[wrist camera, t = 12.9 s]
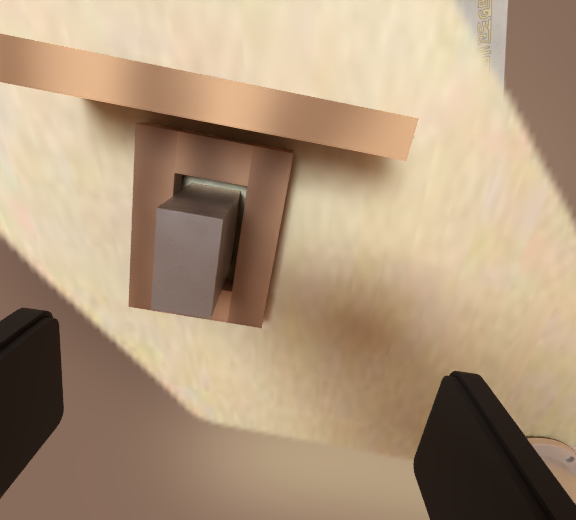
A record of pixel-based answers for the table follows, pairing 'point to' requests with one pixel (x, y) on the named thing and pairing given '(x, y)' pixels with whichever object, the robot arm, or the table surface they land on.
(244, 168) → the wooden backboard stand
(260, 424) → the table surface
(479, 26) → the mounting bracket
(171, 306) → the tall grey rectangular prism
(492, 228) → the table surface
